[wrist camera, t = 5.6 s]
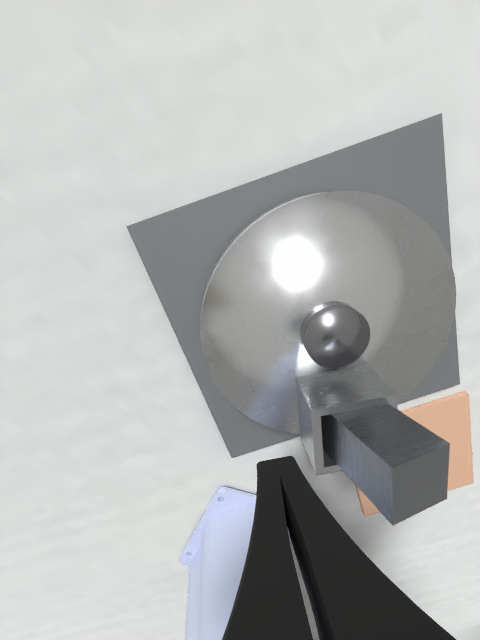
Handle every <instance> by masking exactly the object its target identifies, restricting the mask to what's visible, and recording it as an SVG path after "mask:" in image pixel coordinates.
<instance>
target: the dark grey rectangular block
mask: <svg viewBox="0 0 480 640" xmlns="http://www.w3.org/2000/svg"><path fill="white" fill-rule="evenodd" d="M321 427H322V444H323V449H324V450H325V451H326V452H327V453H328V454H329V456H330V457H331V458H332V459H333V460H334V461H335V462H336V463H337V464H338V465H339V467H340V468H341V469H342V470H343V471H344V472H345V473H346V474H347V475H348V477H349V478H350V479H351V480H352V481H353V482H354V483H355V484H356V485H357V486H358V488H359V489H360V490H361V491H362V492H363V493H364V494H365V495H366V496H367V498H368V499H369V500H370V501H371V502H372V503H373V504H374V505H375V506H376V507H377V509H378V510H379V511H380V512H381V513H382V514H383V515H384V516H385V517H386V519H387V520H388V521H389V522H390V523H391V524H392V525H395V524H397V523H399V522H401V521H403V520H405V519H407V518H409V517H411V516H413V515H415V514H417V513H419V512H421V511H423V510H425V509H427V508H429V507H431V506H433V505H435V504H437V503H439V502H441V501H443V500H445V499H447V488H448V470H449V453H450V443H449V442H447V441H445V440H444V439H442V438H441V437H439V436H438V435H436V434H435V433H433V432H431V431H430V430H428V429H427V428H425V427H424V426H422V425H421V424H419V423H417V422H416V421H414V420H413V419H411V418H410V417H408V416H407V415H405V414H403V413H402V412H400V411H399V410H397V409H396V408H394V407H393V406H391V405H389V404H386V405H380V406H375V407H369V408H363V409H358V410H352V411H346V412H341V413H335V414H330V415H324V416H321Z"/></svg>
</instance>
